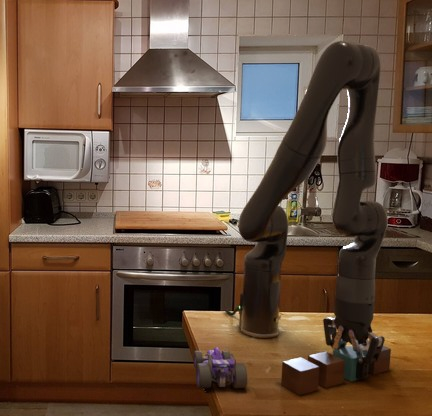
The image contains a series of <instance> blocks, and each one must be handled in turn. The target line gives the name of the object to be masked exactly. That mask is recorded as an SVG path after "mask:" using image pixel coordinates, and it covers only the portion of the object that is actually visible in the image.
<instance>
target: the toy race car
mask: <svg viewBox="0 0 432 416" xmlns="http://www.w3.org/2000/svg"><path fill="white" fill-rule="evenodd" d="M192 359H193V366H194V369H195V381H196V386H197V388H198V389H211V387H212V382H215V383H216V384H217V385H218V387H219V388H226V384H227V382H230V383H231V386H232V388H233V389H246V388H247V386H248V371H247V367H246V365H245V363H244V362H237V360H236V358H235V357H234V355H233V353H231V351H230V350H222V351H221V350H220V348H219V347H214V348H213V349H209V350H208V351H206V353H205V354H204V355H203V352H202V350H194V351H193V357H192Z"/></svg>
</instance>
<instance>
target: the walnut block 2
mask: <svg viewBox="0 0 432 416" xmlns="http://www.w3.org/2000/svg"><path fill="white" fill-rule="evenodd" d="M307 361H309V362H311V363H313V364H315V365H317V366H319V382H318V386H320V387H322V388H324V389H328V388H331V387H335V386H339V385H342V384H344V378H343V377H344V363H345V360H343V359H341V358H338V357H336V356H334V355H333V353H331V352H328V351H321V352H316V353H312V354H308V355H307Z"/></svg>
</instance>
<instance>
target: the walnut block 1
mask: <svg viewBox="0 0 432 416" xmlns="http://www.w3.org/2000/svg"><path fill="white" fill-rule="evenodd" d="M318 382H319V366H317V365H315V364H313V363H311V362H309V361H308V359H305V358H303V357H301V356H299V357H296V358H291V359H287V360H283V361H282V363H281V382H280V385H281V386H283V387H285V388H286V389H288V390H290V391H291V392H292V393H295V394H296V395H298V396H302V395H306V394H309V393H313V392H318V391H319V384H318Z"/></svg>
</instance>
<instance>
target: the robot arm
mask: <svg viewBox="0 0 432 416" xmlns="http://www.w3.org/2000/svg"><path fill="white" fill-rule="evenodd" d="M381 65H382V64H381V56H380V54H379V52H378V50H377V49H376V48H375V47H374V46H371V45H369V44H365V43H359V42H353V41H346V40H338V41H334V42H332V43H330V44H329V45H328V46H327V47H326V48H325V49H324V50H323V51H322V53H321V54H320V56H319V58H318V60H317V62H316V65H315V67H314V69H313V72H312V75H311V77H310V80H309V82H308V85H307V88H306V90H305V93H304V95H303V98H302V100H301V102H300V104H299V106H298V109H297V110H296V113H295V115H294V117H293V119H292V121H291V123H290V125H289V127H288V129H287V131H286V133H285V135H284V136H283V138H282V140H281V142H280V144H279V146H278V148H277V150H276V152H275V154H274V155H273V158H272V160H271V162H270V163H269V166H268V167H267V170H266V171H265V173H264V175H263V177H262V179H261V180H260V182H259V184H258V186H257V188H256V189H255V190H254V192H253V194H252V195H251V197H249V200H248V201H247V203H246V204H245V205H244V207H243V209H242V210H241V213H240V215H239V218H238V223H237V225H238V227H237V228H238V232H239V236H240V237H241V238H242V239H243V240H244V241H247V242H249V243H256V244H255V246H254V247H253V248H252V249H251V250H250V251H248V252H247V253H246V254H245V255H244V258H243V279H242V291H241V292H240V294H239V297H240V298H239V304H238V307H236V308H234V310H233V311H232V312H231V311H230V310H229V309H227V308H225V309H224V312H225V313H227V314H228V315H229V316H235V315H236V314H237V312H238V316H239V317H238V328H239V329H240V332H241V333H243V334H244V335H247V336H249V337H253V338H258V339H269V338H270V339H271V338H275V337H277V336H278V335H279V334H280V333H279V323H280V320H281V319H282V315H280V307H281V305H280V303H281V283H282V265H283V261H284V260H285V257H286V254H287V242H288V234H289V220H288V215H287V212H286V211H285V209H284V208H283V207H282V206H281V205H280V204H281V203H282V201H283V200H284V199H286V197H288V195H290V194H291V193H292V192H293V191H294V190H296V189H297V188H298V187H299V186H300V185H302V183H304V182H305V180H307V179H308V178H309V176H310V175H311V174H312V173H313V171H314V170H315V168H316V166H317V164H318V163H319V161H320V160H321V158H322V156H323V154H324V152H325V150H326V147H327V141H328V117H329V115H330V111H331V109H332V107H333V105H334V104H335V101H336V99H337V98H338V96H339V94H340V93H341V92H342V90H344V89H345V90H346V92H347V96H348V97H347V98H348V113H347V117H346V118H347V119H346V121H345V125H344V127H343V130H342V132H341V136H340V138H339V141H338V145H337V153H336V155H337V156H336V157H337V174H338V183H337V188H336V192H335V196H334V201H333V207H332V212H331V220H332V221H331V222H332V224H333V227H334V229H335V231H336V232H337V233H338V234H340V235H341V236H344V237H354V239H353V242H352V243H350V244H348V245H344V246H343V247H342V248H341V249H340V250H339V252H338V263H337V266H338V267H337V276H336V281H335V289H334V290H335V291H334V307H333V314H334V316H335V317H334V316H330V317H324V318H323V319H322V322H323V323H322V324H323V332H324V340H325V344H326V346H327V347H331V350H332V351H333V350H335V349H340V348H344V347H347V344H350V345H352V346H351V347H353V350H354V351H355V352H356V356H357V360H358V362H357V367H356V378H357V379H359V380H358V381H360V380H364V379H366V378H368V377H367V374H368V373H369V372H368V364H370V363H373V362H377V361H378V359H379V356H380V353H381V350H382V347H383V346H384V344H385V342H386V339H385V337H384V336H383V335H380V336H379V335H378V334H376V333H374V332H373V328H372V322H373V320H374V314H375V313H374V312H375V297H376V265H377V257H378V254H379V252H380V249H381V247H382V245H383V241H384V238H385V235H386V232H387V229H388V224H389V223H388V222H389V219H388V213H387V210H386V209H385V207H384V206H383V205H382V203H380V202H379V201H375V200H363V201H361V198H362V195H363V192H365V190H368V189H371V188H373V187H375V185H376V183H377V167H376V166H377V165H376V150H375V149H376V148H375V132H376V131H375V130H376V129H375V127H376V120H377V119H376V118H377V110H378V108H377V107H378V98H379V89H380V80H381ZM368 341H369V342H368ZM360 344H362V346H360V347H359V345H360ZM369 344H370V345H369ZM362 352H363V354H362ZM368 375H369V374H368ZM365 377H366V378H365Z"/></svg>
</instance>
